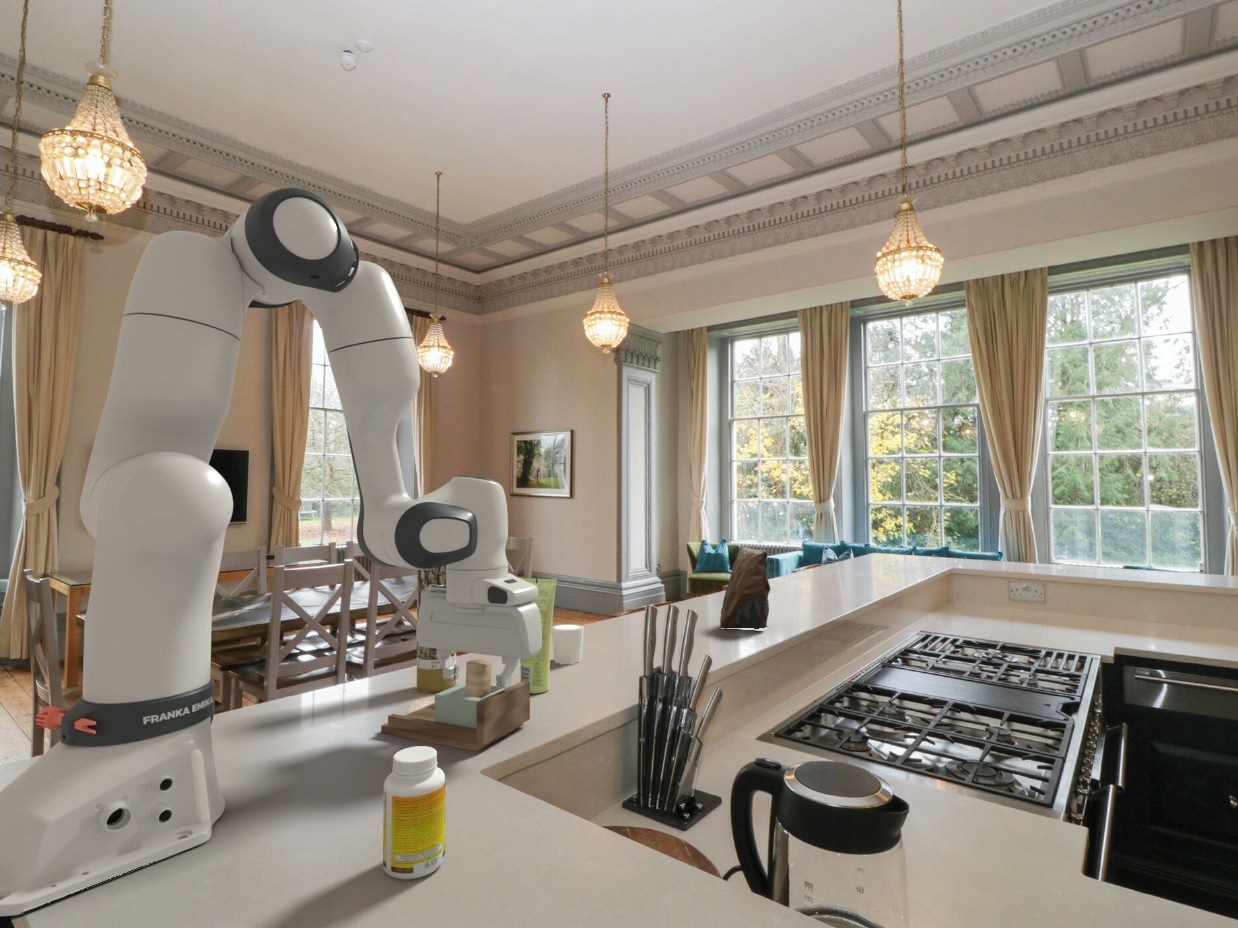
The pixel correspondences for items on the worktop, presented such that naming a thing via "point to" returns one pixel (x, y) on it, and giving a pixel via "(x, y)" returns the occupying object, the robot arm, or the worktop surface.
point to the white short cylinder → (567, 643)
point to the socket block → (459, 706)
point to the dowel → (478, 678)
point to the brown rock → (747, 592)
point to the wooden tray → (492, 723)
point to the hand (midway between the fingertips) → (476, 683)
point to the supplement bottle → (414, 814)
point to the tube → (540, 663)
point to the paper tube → (427, 657)
